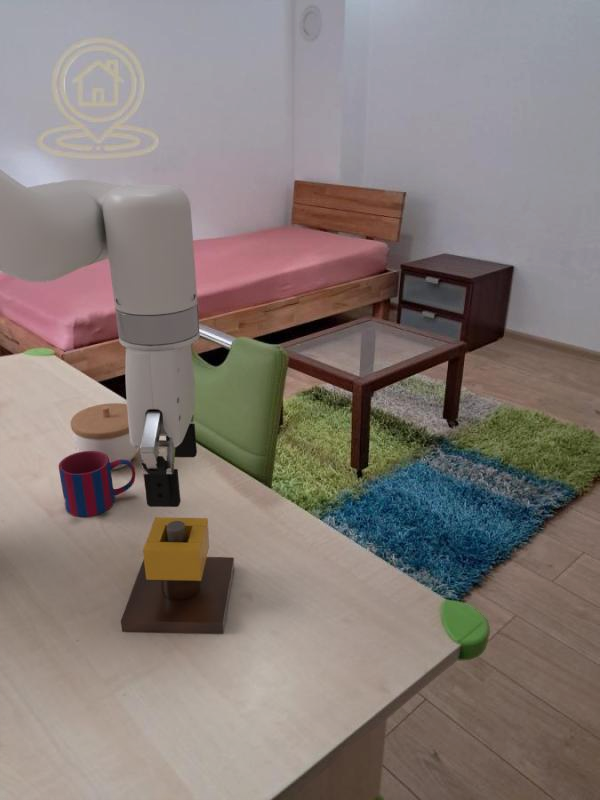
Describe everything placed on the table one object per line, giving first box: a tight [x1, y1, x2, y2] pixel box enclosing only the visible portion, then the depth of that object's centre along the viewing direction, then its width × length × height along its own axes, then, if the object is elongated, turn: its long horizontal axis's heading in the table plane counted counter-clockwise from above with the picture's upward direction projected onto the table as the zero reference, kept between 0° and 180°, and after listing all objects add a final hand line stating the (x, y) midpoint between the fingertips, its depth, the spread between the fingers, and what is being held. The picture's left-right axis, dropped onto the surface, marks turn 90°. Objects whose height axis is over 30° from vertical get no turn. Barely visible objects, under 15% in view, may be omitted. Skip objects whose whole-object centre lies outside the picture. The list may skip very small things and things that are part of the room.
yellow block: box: [142, 516, 210, 581], centre depth 70 cm, size 6×6×4 cm
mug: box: [58, 451, 137, 518], centre depth 89 cm, size 7×10×7 cm
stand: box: [120, 521, 235, 634], centre depth 71 cm, size 11×11×10 cm
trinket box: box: [70, 402, 141, 471], centre depth 100 cm, size 11×11×9 cm
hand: (174, 479), depth 67 cm, fingers open, 9 cm apart
